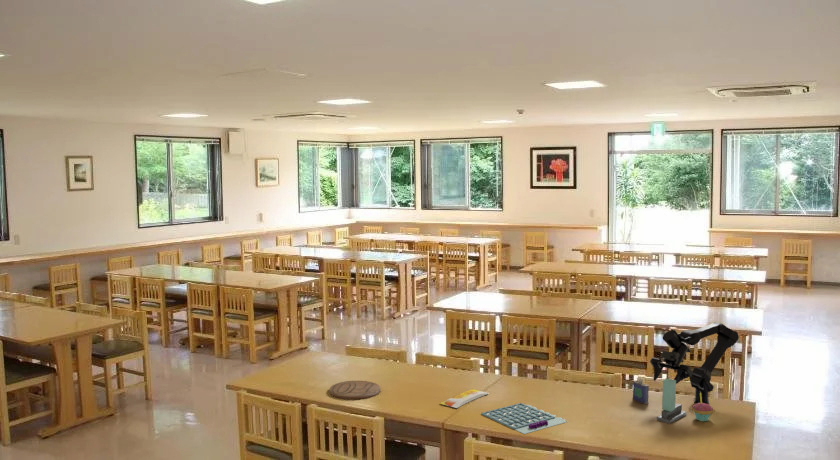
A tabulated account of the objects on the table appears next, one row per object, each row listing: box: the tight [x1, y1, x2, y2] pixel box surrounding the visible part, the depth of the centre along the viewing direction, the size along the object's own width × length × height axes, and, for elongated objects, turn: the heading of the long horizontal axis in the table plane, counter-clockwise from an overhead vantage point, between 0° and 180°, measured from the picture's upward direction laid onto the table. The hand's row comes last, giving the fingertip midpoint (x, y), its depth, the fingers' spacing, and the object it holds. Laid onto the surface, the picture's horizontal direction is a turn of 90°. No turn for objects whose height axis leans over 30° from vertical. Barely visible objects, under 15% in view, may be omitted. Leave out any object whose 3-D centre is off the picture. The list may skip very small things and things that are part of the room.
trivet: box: [328, 380, 381, 401], centre depth 347 cm, size 25×25×2 cm
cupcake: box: [692, 392, 715, 422], centre depth 308 cm, size 9×8×12 cm
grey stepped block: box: [656, 402, 687, 425], centre depth 310 cm, size 15×6×4 cm, turn 134°
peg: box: [661, 378, 677, 412], centre depth 307 cm, size 4×4×13 cm
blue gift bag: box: [632, 379, 650, 405], centre depth 331 cm, size 9×3×11 cm, turn 25°
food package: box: [439, 388, 490, 409], centre depth 335 cm, size 27×2×10 cm
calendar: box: [480, 402, 570, 435], centre depth 310 cm, size 27×28×2 cm
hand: (663, 382), depth 316 cm, fingers open, 9 cm apart
